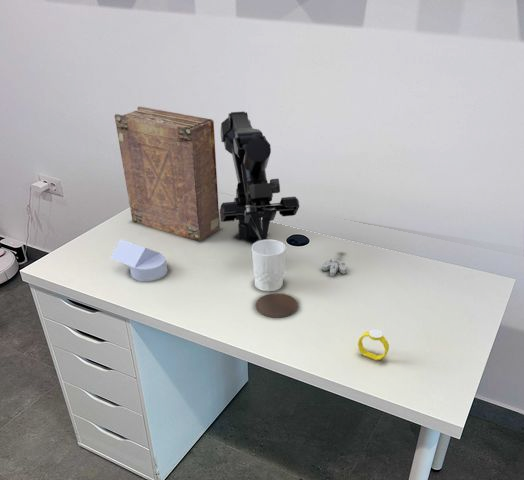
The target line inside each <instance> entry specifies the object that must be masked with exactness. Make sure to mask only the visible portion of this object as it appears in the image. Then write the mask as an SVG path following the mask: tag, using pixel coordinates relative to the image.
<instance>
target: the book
mask: <svg viewBox="0 0 524 480" xmlns="http://www.w3.org/2000/svg"><path fill="white" fill-rule="evenodd" d="M136 108H137V110H133V111H130V112H127V113H125V114H119V113H115V114H114V121H115V126H116V133H117V139H118V144H119V151H120V156H121V162H122V167H123V174H124V179H125V180H124V181H125V186H126V191H127V196H128V203H129V209H130V215H131V220H132V222H133V223H135V224H139V225H141V226H145V227H149V228H151V229H152V228H153V229H156V230H159V231H163V232H166V233H170V234H173V235H175V236H180V237H183V238H187V239H189V240H193V241H196V242H202V241H203V240H205V239H206V238H207V237H208V238H209V236H211V235H212V234H214V233H216V232H217V231H218V230H220V229H221V228H220V227H221V225H220V209H219V208H220V207H219V194H218V193H219V192H218V176H217V175H218V173H217V157H216V139H215V122H214V119H212V118H211V119H210V118H206V117H200V116H195V115H189V114H184V113H178V112H174V111H167V110H163V109H156V108H150V107H145V106H137V107H136Z"/></svg>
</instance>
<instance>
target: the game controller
mask: <svg viewBox="0 0 524 480" xmlns="http://www.w3.org/2000/svg"><path fill="white" fill-rule="evenodd" d="M341 255H343V252H340V254H339V257H337V259H336V260H335V259H332V258H330V259H327V260H325V261H324V263H323V264H322V270H323V271H325V272H326V271H328V270H329V276H330V277H334V276H335V275H336V273H338V271H339V272H340V274H343V275H344V274H345V273H346V271H347V264H346V262H343V261H340V258H341Z"/></svg>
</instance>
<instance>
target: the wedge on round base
mask: <svg viewBox="0 0 524 480" xmlns="http://www.w3.org/2000/svg"><path fill="white" fill-rule="evenodd" d="M109 259H110V260H113V261H115V262H118V263H120V264H123V265H126V266H128V267H129V270H130V276H131V277H132V278H133V279H134V280H136V281H138V282H139V281H140V282H153V281H157V280H160V279H162V278H164V277H165V276H166V275H167V273H168V265H167V259H166V256H165V255H164V254H163V253H161V252H158V251H156V250H153V249H150V248H147V247H144V246H143V245H138V244H136V243H134V242H130V241H127V240H124V239H122V238H121V239H119V242H118V243H117V244H116V246H115V248H114V250H113V252H112V254H111V255H110V256H109Z"/></svg>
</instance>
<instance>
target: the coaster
mask: <svg viewBox="0 0 524 480" xmlns="http://www.w3.org/2000/svg"><path fill="white" fill-rule="evenodd" d="M298 307H299V304H298V301H297V300H296V299H295V298H294V297H292V296H291V295H289V294H285V293H277V292H276V293H269V294H264V295H263V296H261V297H259V298H258V299H257V300H256V302H255V310H256V311H257V312H258V313H259V314H261V315H263V316H265V317H268V318H275V319H279V318H286V317H289V316H292V315H294V314H295V313H296V311H297V310H298Z"/></svg>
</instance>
